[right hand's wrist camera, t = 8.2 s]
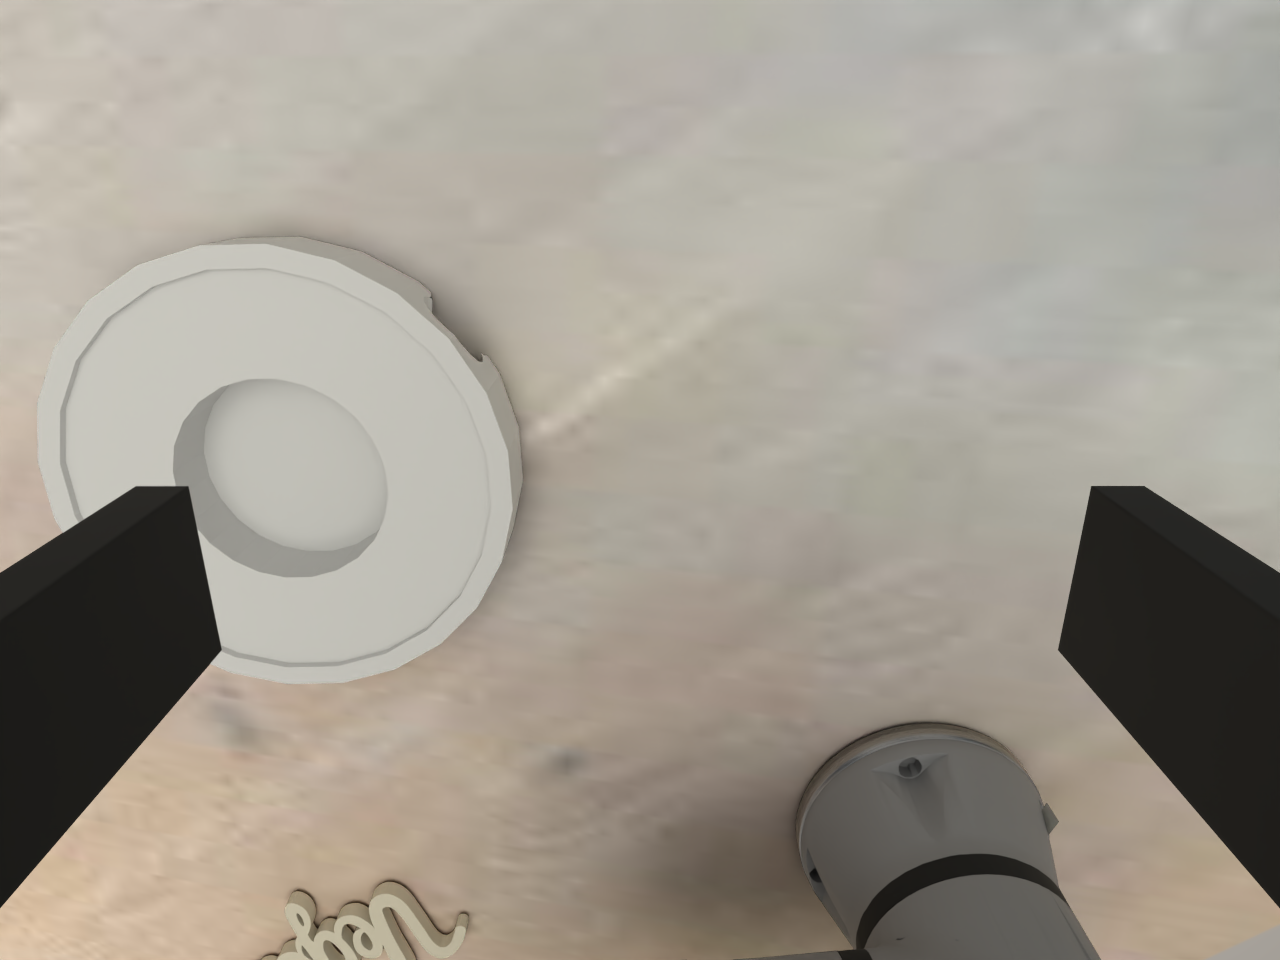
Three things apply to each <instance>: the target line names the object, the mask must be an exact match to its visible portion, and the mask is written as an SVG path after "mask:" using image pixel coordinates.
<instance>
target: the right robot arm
mask: <svg viewBox="0 0 1280 960" xmlns="http://www.w3.org/2000/svg"><path fill="white" fill-rule="evenodd" d="M221 650H222V648H221V643H220V638H219V633H218V628H217V623H216V619H215V614H214V609H213V604H212V599H211V594H210V589H209V584H208V579H207V574H206V569H205V564H204V560H203V555H202V550H201V545H200V540H199V535H198V530H197V525H196V520H195V515H194V510H193V506H192V501H191V496H190V491H189V486H135V487H134V488H132V489H131V490H129V491H127V492H126V493H124V494H123V495H121V496H120V497H118V498H117V499H115V500H113V501H112V502H110V503H109V504H107V505H106V506H104V507H102V508H101V509H99V510H98V511H96V512H95V513H93V514H92V515H90V516H88V517H87V518H85V519H84V520H82V521H81V522H79V523H77V524H76V525H74V526H73V527H71V528H70V529H68V530H67V531H65V532H63V533H62V534H60V535H59V536H57V537H56V538H54V539H53V540H51V541H49V542H48V543H46V544H45V545H43V546H42V547H40V548H38V549H37V550H35V551H34V552H32V553H31V554H29V555H28V556H26V557H24V558H23V559H21V560H20V561H18V562H17V563H15V564H13V565H12V566H10V567H9V568H7V569H6V570H4V571H3V572H1V573H0V908H1V907H2V905H3V904H4V903H5V902H6V901H7V900H8V898H9V897H10V896H11V895H12V894H13V893H14V891H15V890H16V889H17V888H18V887H19V886H20V884H21V883H22V882H23V881H24V880H25V879H26V877H27V876H28V875H29V874H30V873H31V872H32V871H33V869H34V868H35V867H36V866H37V865H38V864H39V862H40V861H41V860H42V859H43V858H44V857H45V855H46V854H47V853H48V852H49V851H50V850H51V848H52V847H53V846H54V845H55V844H56V843H57V841H58V840H59V839H60V838H61V837H62V836H63V834H64V833H65V832H66V831H67V830H68V829H69V827H70V826H71V825H72V824H73V823H74V822H75V820H76V819H77V818H78V817H79V816H80V815H81V813H82V812H83V811H84V810H85V809H86V808H87V806H88V805H89V804H90V803H91V802H92V801H93V799H94V798H95V797H96V796H97V795H98V794H99V793H100V791H101V790H102V789H103V788H104V787H105V786H106V784H107V783H108V782H109V781H110V780H111V779H112V777H113V776H114V775H115V774H116V773H117V772H118V770H119V769H120V768H121V767H122V766H123V765H124V763H125V762H126V761H127V760H128V759H129V758H130V756H131V755H132V754H133V753H134V752H135V751H136V749H137V748H138V747H139V746H140V745H141V744H142V742H143V741H144V740H145V739H146V738H147V737H148V735H149V734H150V733H151V732H152V731H153V730H154V728H155V727H156V726H157V725H158V724H159V723H160V721H161V720H162V719H163V718H164V717H165V716H166V715H167V713H168V712H169V711H170V710H171V709H172V708H173V706H174V705H175V704H176V703H177V702H178V701H179V699H180V698H181V697H182V696H183V695H184V694H185V692H186V691H187V690H188V689H189V688H190V687H191V685H192V684H193V683H194V682H195V681H196V680H197V678H198V677H199V676H200V675H201V674H202V673H203V671H204V670H205V669H206V668H207V667H208V666H209V664H210V663H211V662H212V661H213V660H214V659H215V657H216V656H217V655H218V654H219V653H220V652H221ZM1058 650H1059V652H1060V653H1061V654H1062V655H1063V656H1064V657H1065V659H1066V660H1067V661H1068V662H1069V663H1070V664H1071V666H1072V667H1073V668H1074V669H1075V670H1076V671H1077V673H1078V674H1079V675H1080V676H1081V677H1082V678H1083V680H1084V681H1085V682H1086V683H1087V684H1088V685H1089V687H1090V688H1091V689H1092V690H1093V691H1094V692H1095V694H1096V695H1097V696H1098V697H1099V698H1100V699H1101V701H1102V702H1103V703H1104V704H1105V705H1106V706H1107V708H1108V709H1109V710H1110V711H1111V712H1112V713H1113V715H1114V716H1115V717H1116V718H1117V719H1118V720H1119V721H1120V723H1121V724H1122V725H1123V726H1124V727H1125V728H1126V730H1127V731H1128V732H1129V733H1130V734H1131V735H1132V737H1133V738H1134V739H1135V740H1136V741H1137V742H1138V744H1139V745H1140V746H1141V747H1142V748H1143V749H1144V751H1145V752H1146V753H1147V754H1148V755H1149V756H1150V758H1151V759H1152V760H1153V761H1154V762H1155V763H1156V765H1157V766H1158V767H1159V768H1160V769H1161V770H1162V772H1163V773H1164V774H1165V775H1166V776H1167V777H1168V779H1169V780H1170V781H1171V782H1172V783H1173V784H1174V786H1175V787H1176V788H1177V789H1178V790H1179V791H1180V793H1181V794H1182V795H1183V796H1184V797H1185V798H1186V799H1187V801H1188V802H1189V803H1190V804H1191V805H1192V806H1193V808H1194V809H1195V810H1196V811H1197V812H1198V813H1199V815H1200V816H1201V817H1202V818H1203V819H1204V820H1205V822H1206V823H1207V824H1208V825H1209V826H1210V827H1211V829H1212V830H1213V831H1214V832H1215V833H1216V834H1217V836H1218V837H1219V838H1220V839H1221V840H1222V841H1223V843H1224V844H1225V845H1226V846H1227V847H1228V848H1229V850H1230V851H1231V852H1232V853H1233V854H1234V855H1235V857H1236V858H1237V859H1238V860H1239V861H1240V862H1241V864H1242V865H1243V866H1244V867H1245V868H1246V869H1247V871H1248V872H1249V873H1250V874H1251V875H1252V876H1253V877H1254V879H1255V880H1256V881H1257V882H1258V883H1259V884H1260V886H1261V887H1262V888H1263V889H1264V890H1265V891H1266V893H1267V894H1268V895H1269V896H1270V897H1271V898H1272V900H1273V901H1274V902H1275V903H1276V904H1277V905H1278V907H1279V908H1280V573H1279V572H1277V571H1276V570H1274V569H1273V568H1271V567H1270V566H1268V565H1267V564H1265V563H1263V562H1262V561H1260V560H1259V559H1257V558H1256V557H1254V556H1252V555H1251V554H1249V553H1248V552H1246V551H1245V550H1243V549H1242V548H1240V547H1238V546H1237V545H1235V544H1234V543H1232V542H1231V541H1229V540H1227V539H1226V538H1224V537H1223V536H1221V535H1220V534H1218V533H1217V532H1215V531H1213V530H1212V529H1210V528H1209V527H1207V526H1206V525H1204V524H1203V523H1201V522H1199V521H1198V520H1196V519H1195V518H1193V517H1192V516H1190V515H1188V514H1187V513H1185V512H1184V511H1182V510H1181V509H1179V508H1178V507H1176V506H1174V505H1173V504H1171V503H1170V502H1168V501H1167V500H1165V499H1163V498H1162V497H1160V496H1159V495H1157V494H1156V493H1154V492H1153V491H1151V490H1149V489H1148V488H1146V487H1145V486H1091V491H1090V496H1089V501H1088V506H1087V510H1086V515H1085V520H1084V525H1083V530H1082V535H1081V540H1080V545H1079V550H1078V555H1077V560H1076V564H1075V569H1074V574H1073V579H1072V584H1071V589H1070V594H1069V599H1068V604H1067V609H1066V614H1065V619H1064V623H1063V628H1062V633H1061V638H1060V643H1059V648H1058ZM1058 822H1059V821H1058V820H1057V818H1056V816H1055V815H1054V813H1053V812H1052V810H1051V809H1050V807H1049V805H1048V804H1047V803H1046V805H1045V806H1044V805H1043V803H1042V800H1041V797H1040V794H1039V792H1038V790H1037V788H1036V786H1035V785H1034V783H1033V782H1032V780H1031V778H1030V777H1029V775H1028V774H1027V772H1026V771H1025V769H1024V768H1023V766H1022V765H1021V763H1020V762H1019V761H1018V759H1017V758H1016V757H1015V756H1014V755H1013V754H1012V753H1011V752H1010V751H1009V750H1008V749H1007V748H1005V747H1004V746H1002V745H1001V744H1000V743H998V742H997V741H995V740H993V739H991V738H990V737H988V736H986V735H983V734H981V733H979V732H976V731H973V730H970V729H967V728H963V727H959V726H953V725H947V724H933V723H929V724H912V725H905V726H899V727H894V728H890V729H887V730H883V731H880V732H877V733H875V734H872V735H869V736H867V737H865V738H863V739H860V740H859V741H857V742H855V743H853V744H851V745H850V746H848V747H847V748H845V749H843V750H842V751H840V752H839V753H838V754H837V755H835V756H834V757H833V758H832V759H830V760H829V761H828V762H827V763H826V764H825V765H824V766H823V767H822V768H821V769H820V771H819V772H818V773H817V774H816V775H815V777H814V778H813V779H812V781H811V782H810V784H809V785H808V787H807V789H806V791H805V792H804V795H803V797H802V799H801V802H800V805H799V808H798V812H797V818H796V840H797V845H798V849H799V854H800V858H801V862H802V866H803V869H804V872H805V874H806V876H807V878H808V880H809V882H810V884H811V887H812V889H813V890H814V892H815V894H816V895H817V897H818V898H819V899H820V901H821V902H822V904H823V905H824V907H825V908H826V910H827V911H828V912H829V914H830V915H831V917H832V918H833V920H834V921H835V922H836V924H837V925H838V927H839V928H840V930H841V931H842V932H843V934H844V935H845V937H846V938H847V940H848V941H849V943H850V944H851V945H852V947H853V948H854V950H845V951H828V952H817V953H806V954H795V955H785V956H774V957H763V958H749V959H735V960H1101V959H1100V957H1099V955H1098V954H1097V952H1096V950H1095V949H1094V947H1093V945H1092V944H1091V942H1090V940H1089V939H1088V937H1087V935H1086V933H1085V932H1084V930H1083V928H1082V927H1081V925H1080V923H1079V922H1078V920H1077V918H1076V917H1075V915H1074V913H1073V911H1072V910H1071V908H1070V906H1069V905H1068V903H1067V901H1066V899H1065V898H1064V896H1063V894H1062V892H1061V891H1060V889H1059V886H1058V880H1057V875H1056V870H1055V865H1054V860H1053V855H1052V850H1051V845H1050V841H1049V834H1050V832H1051V831H1052V830H1053V828H1054V827H1055V826H1056V825H1057V823H1058Z"/></svg>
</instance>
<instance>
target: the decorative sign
mask: <svg viewBox="0 0 1280 960" xmlns="http://www.w3.org/2000/svg"><path fill="white" fill-rule="evenodd" d="M390 908H393V909H394V910H395V911H396V912H397V913H398V914H399V915H400V916H401V917H402V919H403V920H404V921H405V923H406V924H407V926H408V927H409V929H410V930H411V932H412V933H413V935H414V936H415V937H416V939H417V940H418V941H419V943H420V944H421V946H422V947H423V948H424V949H425V950H426V952H428V953H429V954H430V955H432V956H434V957H436V958H442V959H443V958H448V957H450V956H451V955H453V954H454V953H455V952H456V951H457V950H458V949H459V947H460V946H461V944H462V942H463V940H464V937H465V934H466V929H467V925H468V920H469V917H468V915H466V914H460V915H459V916H458V920H457V924H456V927H455V929H454V930H453V932H452V933H450V934H448V935H443V934H441V933H440V932H439V931H437V929H436V928H435V927H434V926H433V924H432V923H431V921H430V920H429V918H428V917H427V915H426V914H425V912H424V911H423V909H422V908H421V906H420V905H419V904H418V902H417V901H416V899H415V898H414V896H413V895H412V894H411V893H410V892H409V891H408V890H407V889H406V888H405V887H403V886H402V885H400V884H397V883H394V882H385V883H382V884H380V885H379V886H377V888H376V889H375V891H374V893H373V896H372V899H371V901H370V904H369V908H368V907H367V906H365V905H363V904H360V903H351V904H347V905H345V906H344V907H343V908H342V909H341V910H340V913H339V915H338V918H337V920H336V919H333V918H328V919H325V920H323V921H322V922H321V924H320V926H319V928H318V929H317V928H316V927H315V925H314V923H313V921H314V919H315V916H316V907H315V904H314V902H313V900H312V899H311V898H310V897H309V896H308V895H307V894H305V893H303V892H300V891H296V892H293V893H292V895H291V897H290V899H289V901H288V903H287V905H286V907H285V915H286V918H287V920H288V921H289V923H290V925H291V927H292V929H293V930H294V932H295V934H296V935H297V938H296V940H291V941H288V942H287V943H285V944H284V946H283V948H282V950H281V952H280V954H279V957H277V956H274V955H269V956H266V957H264V958H262V959H261V960H361V959H362V956H363V957H366V958H377V957H379V956H380V955H381V954H382V951H383V948H385V951H386V953H387V955H388V957H389V959H390V960H416V958H415V955H414V953H413V952H412V950H411V948H410V946H409V945H408V943H407V941H406V940H405V938H404V936H403V934H402V933H401V931H400V929H399V927H398V925H397V923H396V921H395V919H394V916H393V914H392V912H391V910H390ZM346 924H352V925H355V926H357V927H356V929H355V932H354V933H353V932H352V931H351V930H350V929H349V928H348V927H347V925H346ZM331 942H332V943H333V944H335V945H336V946H337V947H338V948H339V949H340V951H341V952H342V953H343V955H342V954H340V953H339V952H338V951H337V950H336V949H335V948H334V946H333V945H332V943H331Z"/></svg>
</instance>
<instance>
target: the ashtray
mask: <svg viewBox="0 0 1280 960" xmlns="http://www.w3.org/2000/svg"><path fill="white" fill-rule="evenodd" d="M481 354H482V353H481ZM482 356H483V358H482V362H479V361H477V360H476V359H475V358H474V357H473V356H472V355H470V353H469V352H468V351H467V350H466V349H465V348H464V347H463V345H462V344H461V343H460V342H459V341H458V339H457V338H456V336H455V335H454V334H453V333H452V332H450V331H449V330H448V329H447V328H446V327H445V326H444V325H443V324H442V323H441V322H440V321H439V320H438V319H436V317H435V316H434V315H433V314H432V297H431V292H430V291H429V290H428V289H427V288H425V287H424V286H423V285H422V284H421V283H420V282H419V281H417V280H415V279H413V278H411V277H409V276H407V275H406V274H404V273H402V272H400V271H398V270H396V269H394V268H392V267H390V266H389V265H387V264H385V263H383V262H381V261H379V260H377V259H375V258H373V257H372V256H370V255H368V254H366V253H364V252H362V251H358V250H354V249H350V248H346V247H342V246H338V245H333V244H329V243H325V242H321V241H317V240H313V239H309V238H305V237H301V236H297V237H256V238H236V239H230V240H225V241H220V242H214V243H209V244H203V245H198V246H195V247H192V248H189V249H186V250H183V251H180V252H176V253H173V254H170V255H167V256H164V257H161V258H158V259H155V260H151V261H148V262H145V263H142V264H139V265H137V266H135V267H134V268H133V269H131V270H130V271H128V272H127V273H126V274H124V275H123V276H121V277H120V278H119V279H117V280H116V281H114V282H113V283H112V284H110V285H109V286H107V287H106V288H105V289H103V290H102V291H100V292H99V293H98V294H96V295H95V296H93V297H92V298H91V299H89V300H88V301H87V302H86V304H85V305H84V307H83V308H82V309H81V311H80V312H79V314H78V315H77V316H76V318H75V319H74V321H73V322H72V323H71V325H70V326H69V328H68V329H67V330H66V332H65V333H64V335H63V336H62V337H61V339H60V340H59V342H58V343H57V344H56V346H55V347H54V349H53V353H52V356H51V359H50V363H49V366H48V369H47V373H46V376H45V379H44V382H43V386H42V389H41V392H40V396H39V399H38V402H37V437H38V464H39V468H40V471H41V474H42V478H43V481H44V485H45V488H46V491H47V495H48V498H49V502H50V505H51V509H52V512H53V515H54V519H55V520H56V522H57V524H58V526H59V527H60V529H61V531H62V532H65V531H67V530H68V529H70V528H71V527H73V526H74V525H76V524H77V523H79V522H81V521H82V520H84V519H85V518H87V517H88V516H90V515H92V514H93V513H95V512H96V511H98V510H99V509H101V508H102V507H104V506H106V505H107V504H109V503H110V502H112V501H113V500H115V499H117V498H118V497H120V496H121V495H123V494H124V493H126V492H127V491H129V490H131V489H132V488H134V487H135V486H189V491H190V496H191V501H192V506H193V510H194V515H195V520H196V525H197V530H198V535H199V540H200V545H201V550H202V555H203V560H204V564H205V569H206V574H207V579H208V584H209V589H210V594H211V599H212V604H213V609H214V614H215V619H216V623H217V628H218V633H219V638H220V643H221V648H222V650H221V652H220V653H219V654H218V655H217V656H216V657H215V659H214V660H213V661H212V662H211V663H210V664H211V665H214V666H216V667H218V668H221V669H223V670H225V671H228V672H230V673H234V674H239V675H244V676H249V677H254V678H259V679H264V680H269V681H274V682H279V683H284V684H315V683H345V682H348V681H352V680H356V679H360V678H364V677H368V676H372V675H376V674H379V673H383V672H387V671H391V670H395V669H397V668H398V667H400V666H402V665H404V664H406V663H407V662H409V661H411V660H413V659H415V658H416V657H418V656H420V655H422V654H424V653H425V652H427V651H429V650H431V649H433V648H434V647H436V646H438V645H440V644H441V643H442V642H443V641H444V640H445V639H446V638H447V637H448V636H449V635H450V634H451V633H452V632H453V631H454V630H455V629H456V628H457V627H458V626H459V625H460V624H461V623H462V622H463V621H464V620H465V619H466V618H467V617H468V616H469V615H470V614H471V613H472V612H473V611H474V610H475V609H476V608H477V607H478V605H479V603H480V601H481V599H482V598H483V596H484V594H485V592H486V590H487V588H488V587H489V585H490V583H491V581H492V579H493V577H494V575H495V574H496V572H497V570H498V568H499V566H500V564H501V563H502V560H503V557H504V554H505V551H506V548H507V546H508V543H509V540H510V537H511V534H512V531H513V527H514V522H515V518H516V513H517V508H518V503H519V498H520V493H521V489H522V484H523V472H522V459H521V446H520V433H519V426H518V423H517V420H516V417H515V414H514V412H513V409H512V406H511V403H510V400H509V398H508V395H507V392H506V389H505V387H504V384H503V381H502V378H501V375H500V373H499V372H498V370H497V369H496V367H495V366H494V364H493V363H492V361H491V360H490V358H489V357H488V356H486V355H483V354H482Z"/></svg>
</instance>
